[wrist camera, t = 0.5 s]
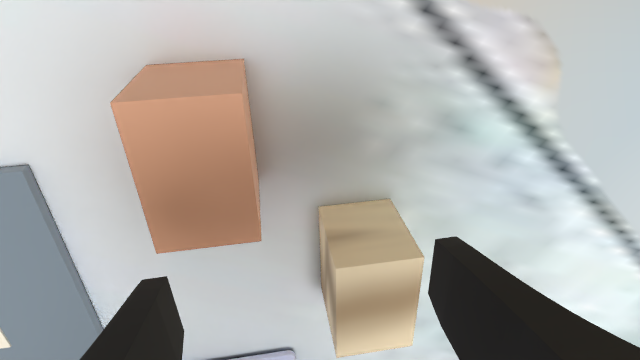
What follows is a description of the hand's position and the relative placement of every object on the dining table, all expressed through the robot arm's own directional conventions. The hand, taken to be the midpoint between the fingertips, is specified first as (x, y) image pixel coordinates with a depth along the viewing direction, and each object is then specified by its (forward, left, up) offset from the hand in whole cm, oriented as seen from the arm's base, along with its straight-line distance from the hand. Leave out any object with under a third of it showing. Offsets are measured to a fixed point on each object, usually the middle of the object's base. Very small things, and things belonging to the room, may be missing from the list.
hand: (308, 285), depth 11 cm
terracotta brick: (+1, +3, -10) cm, 10 cm away
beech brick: (-7, -4, -10) cm, 12 cm away
